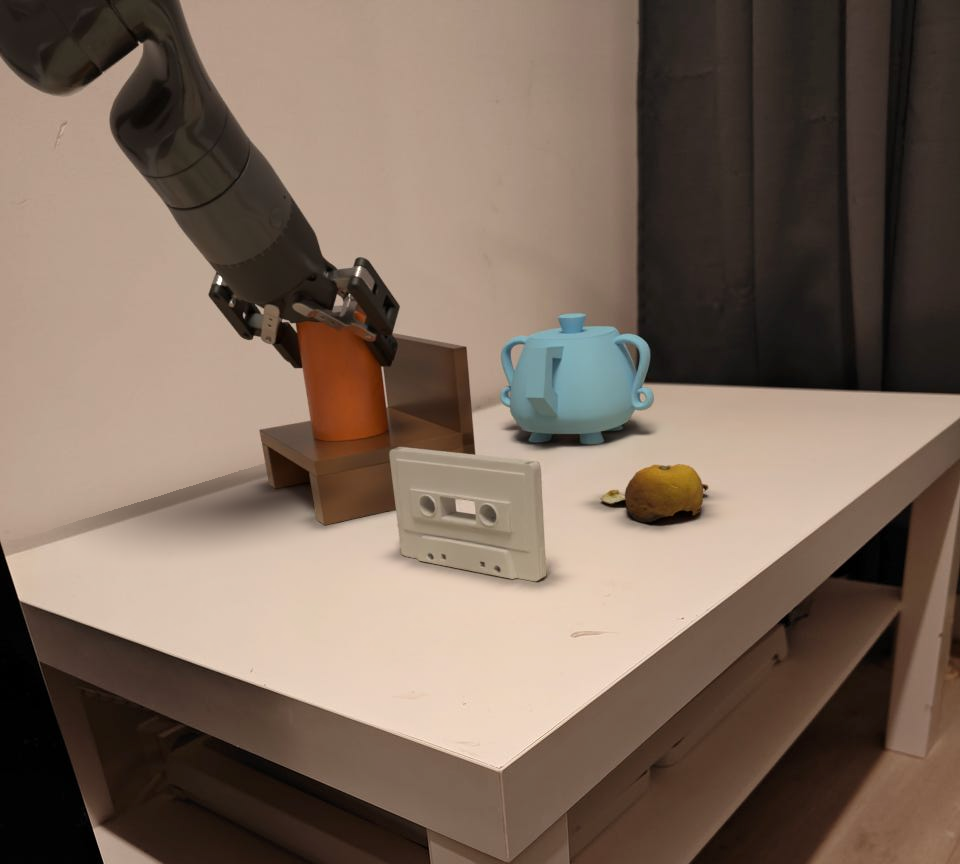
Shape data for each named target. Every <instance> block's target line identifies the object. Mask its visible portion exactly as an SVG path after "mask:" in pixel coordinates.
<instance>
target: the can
mask: <svg viewBox="0 0 960 864" xmlns="http://www.w3.org/2000/svg"><path fill="white" fill-rule="evenodd" d="M342 306H343V304H340V305H334V307H333V310H332V312H334V313H336V314H337V315H340V313H341V309H342ZM354 317H355V319H356V320H358V321H360V322H362V323H364V322H365V319H366V316H364V315H363V314H361V313H359V312H357V311H356V310H355V312H354ZM295 329H296V330H295V331H296V332H297V336H298V342H299V349H300V355H301V362H302V368H301V369H302V374H303V380H304V385H305V386H304V387H305V393H306V401H307V405H308V413H309V418H310V420H309V421H311V426H312V433H313V437H314V438H315V439H318V440H323V441H348V440H357V439H363V438H368V437H373V436H376V435H379V434H382V433H384V432H386V431H387V430H388V429H389V426H388V417H387V409H386V407H387V400H386V391H385V383H384V375H383V367H381V366H380V364H379V363H378V361H377V360H376V358H375V357H374V356H373V354H372V353H371V351H370V350H369V348H368V347H367V345H366V344H365V342H364V339H363V338H361V337H359V336H357V335H355V334H354V333H352V332H350V331H348V330H345V331H344V332H339V331H337V330H335V329H333V328H331V327H330V326H328V325H326V324H324V323H322V322H309V321H305V322H301V323H295Z"/></svg>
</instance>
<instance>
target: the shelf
mask: <svg viewBox="0 0 960 864" xmlns="http://www.w3.org/2000/svg"><path fill="white" fill-rule="evenodd" d="M392 335H393V336H394V338H395V339H396V341H397V342H398V347H397V351H396V354H395V358H394V361H392V364H391V366H390V367H382V372H383V380H384V388H385V397H386V405H387V406H386V409H387V417H388V426H389V429H388V430H387V431H386V432H384V433H382V434H379V435H376V436H373V437H368V438H363V439H357V440H348V441H323V440H318V439H315V438H314V437H313V433H312V426H311V420H306V421H301V422H294V423H289V424H284V425H283V424H282V425H278V426H273V427H266V428H262V429H261V428H260V429H259V436H260V441H261V448H262V453H263V458H264V464H265V469H266V474H267V481H268V485H269V486H271V487H272V488H273V489H275V490H276V489H277V490H278V489H281V488H286V487H292V486H296V485H301V484H306V483H310V487H311V493H312V500H313V506H314V512H315V519H316V521H318V522H319V523H321V524H322V525H323V526H328V525H332V524H337V523H341V522H346V521H349V520H355V519H358V518H363V517H368V516H373V515H377V514H381V513H382V514H383V513H385V512H390V511H394V510H395V511H396V506H395V497H394V489H393V481H392V473H391V464H390V456H389V453H390V451H391V450H393V449H395V448H398V447H406V448H416V449H425V450H435V451H444V452H454V453H463V454H473V455H476V446H475V445H476V444H475V433H474V432H475V431H474V421H473V409H472V408H473V407H472V396H471V384H470V372H469V361H468V348H467V346H465V345H459V344H454V343H448V342H444V341H439V340H433V339H427V338H421V337H416V336H411V335H405V334H401V333H395V332H393V333H392Z"/></svg>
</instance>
